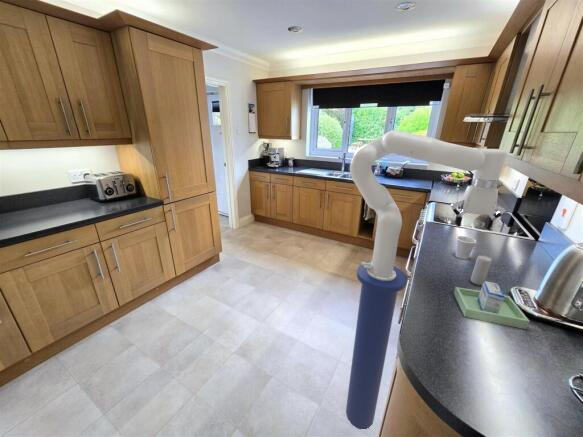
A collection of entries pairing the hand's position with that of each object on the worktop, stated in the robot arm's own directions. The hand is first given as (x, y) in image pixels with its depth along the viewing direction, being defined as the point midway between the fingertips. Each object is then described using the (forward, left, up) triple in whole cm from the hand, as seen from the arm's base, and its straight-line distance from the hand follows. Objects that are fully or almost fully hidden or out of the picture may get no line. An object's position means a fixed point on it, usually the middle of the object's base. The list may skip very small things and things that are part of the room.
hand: (471, 227), depth 94 cm
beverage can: (+9, +4, -26) cm, 28 cm away
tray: (+6, -15, -26) cm, 31 cm away
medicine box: (+6, -15, -26) cm, 30 cm away
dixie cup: (+10, +29, -26) cm, 41 cm away
